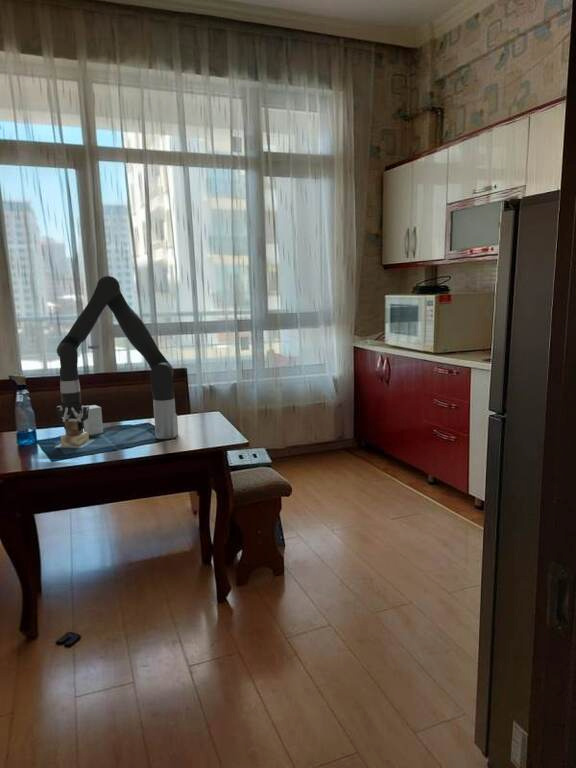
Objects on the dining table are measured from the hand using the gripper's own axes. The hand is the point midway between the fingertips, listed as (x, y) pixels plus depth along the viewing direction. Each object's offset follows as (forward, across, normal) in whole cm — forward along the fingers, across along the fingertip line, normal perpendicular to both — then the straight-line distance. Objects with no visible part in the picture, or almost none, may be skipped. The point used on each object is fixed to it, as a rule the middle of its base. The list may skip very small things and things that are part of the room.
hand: (74, 430), depth 216 cm
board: (+7, 0, 0) cm, 7 cm away
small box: (+7, +1, -18) cm, 19 cm away
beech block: (+6, 0, 0) cm, 6 cm away
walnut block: (+2, 0, 0) cm, 2 cm away
